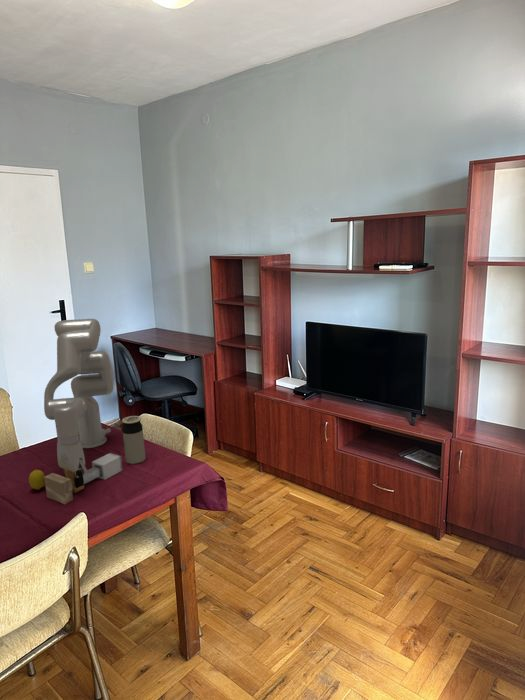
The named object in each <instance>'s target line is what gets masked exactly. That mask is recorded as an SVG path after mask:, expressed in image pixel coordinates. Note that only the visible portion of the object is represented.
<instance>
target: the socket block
mask: <svg viewBox="0 0 525 700" xmlns="http://www.w3.org/2000/svg"><path fill="white" fill-rule="evenodd" d="M44 480H45V484H44V486H45V492H46V497H47V498H48V499H50V500H53V501H55V502H58V503H61V504H63V505H66V504H68V503H70V502H72V501H74V495H73V494H74V493H73V492H72V487H71V480H70V479H68V478H66V476H62V475H60V474H57V473H55V472H51V473H49V474H48V475H45V477H44Z"/></svg>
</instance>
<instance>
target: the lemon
mask: <svg viewBox="0 0 525 700" xmlns="http://www.w3.org/2000/svg"><path fill="white" fill-rule="evenodd" d="M45 476H46V475H45V473H44V472H43V471H42V470H40V469H34V470H32V472H30V473H29V476H28V484H29V486H30V487H31V488H32V489H34V490H40V489H41V488H43V487H44V486H45V480H44V477H45Z"/></svg>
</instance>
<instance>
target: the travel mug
mask: <svg viewBox="0 0 525 700" xmlns="http://www.w3.org/2000/svg"><path fill="white" fill-rule="evenodd" d="M141 420H142V418H141V416H139V415H130V416H126V417H123V418H122V420H121V422H122V424H123V425H122V428H121V430H122V438H123V439H122V440H123V447H124V448H123V449H124V455H125V462H126V463H127V464H133V465H134V464H140V463H142V462H144V461H145V460H146V449H145V440H144V439H145V437H144V428H143V424H142V422H141Z"/></svg>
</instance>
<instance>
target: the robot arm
mask: <svg viewBox="0 0 525 700" xmlns="http://www.w3.org/2000/svg"><path fill="white" fill-rule="evenodd" d="M100 324H101V323H100V321H98V320H97V319H95V318H84V319H83V318H81V319H65V320H64V319H63V320H60V321H59V320H58V321H57V322H55V324H54V331H55V332H54V333H55V334H56V336H57V339H56V361H57V362H56V372H55V374H54V375H52V377H51V379H50V380H49V381H48V383H47V384H46V387H45V390H44V394H43V399H44V400H43V409H44V415H45V417H46V418H47V419H48V420H50V421H51V420H52V421H53V420H54V423H55V430H56V438H57V443H56V455H57V464H58V467H59V468H61V469H62V470H64V471H63V474H64V475H65V469H66V470H69V471H72V472H74V473H75V477H76V478H75V485H76V488H79V487H81V486H83V485H84V486H85V484H84V480H83V475H84V473H85V472H86V471H87V470H88V469H87V467H86V457H85V453H84V449H93V448H98V447H101V446H102V445H104V444H105V443H106V442H107V439H108V438H107V436H106V435H107V434H109V433H111V432H112V430H111V428H109V427H108V428H106V429H105V428H103V427H102V421H101V420H102V419H101V413H100V405H99V403H98V401H97V400H96V399H95V397H99V396H107V395H110V394H112V392H113V391H114V382H113V381H114V380H113V372H112V367H111V361H110V357H109V355H108V353H107V352H106V351H102V350H99V351H98V350H97V349H98V345H99V340H100V336H101V332H102V331H101V325H100ZM71 379H72V380H71ZM70 380H71V382H70V389H71V392H72V395H73V397H66V398H55V399H54V397H55V392H56V390H57V389H58V388H59V387H60V386H61V385H62V384H64V383H66V382H67V381H70ZM78 470H80V472H79V473H78V472H77V471H78Z"/></svg>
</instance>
